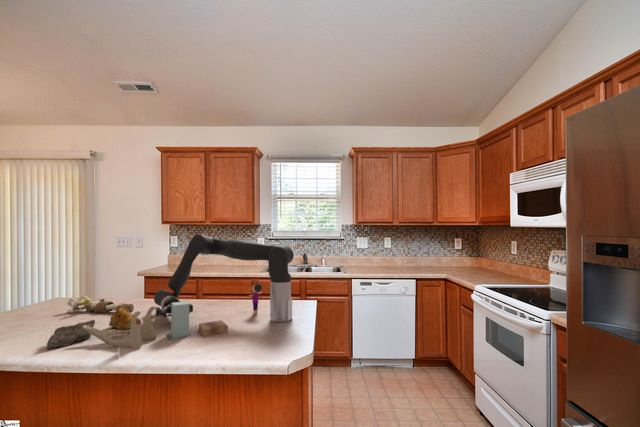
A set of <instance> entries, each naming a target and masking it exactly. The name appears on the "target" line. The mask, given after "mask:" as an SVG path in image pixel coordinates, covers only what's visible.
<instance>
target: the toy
mask: <svg viewBox="0 0 640 427" xmlns="http://www.w3.org/2000/svg"><path fill="white" fill-rule="evenodd" d="M252 284H253V286H252V287H251V291H252V294H250V295H248V297H249V298H251V297H252V308H253V312H252V313H251V314H252V315H258V307H259V306H258V305H259V295H260V294H263V291H262V290H263V287H262V284H261V283H259V282H257V281H256V282H254V283H252Z"/></svg>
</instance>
